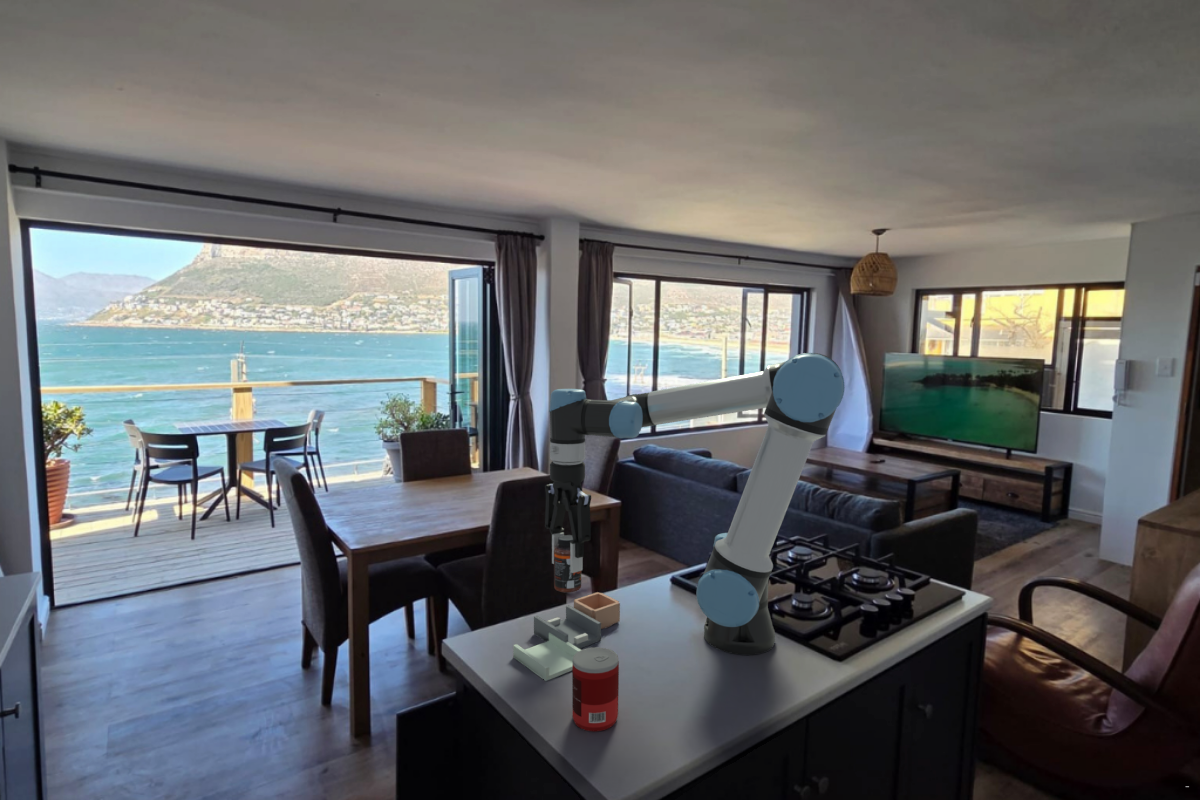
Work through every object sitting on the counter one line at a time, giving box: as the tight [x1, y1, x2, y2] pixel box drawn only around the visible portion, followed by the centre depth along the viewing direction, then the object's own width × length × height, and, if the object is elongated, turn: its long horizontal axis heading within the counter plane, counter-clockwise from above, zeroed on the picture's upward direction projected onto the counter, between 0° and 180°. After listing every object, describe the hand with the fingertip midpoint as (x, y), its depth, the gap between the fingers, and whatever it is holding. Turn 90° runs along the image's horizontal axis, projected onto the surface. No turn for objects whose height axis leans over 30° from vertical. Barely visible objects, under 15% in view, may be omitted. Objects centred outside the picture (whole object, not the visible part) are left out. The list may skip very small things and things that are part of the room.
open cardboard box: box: [573, 591, 621, 630], centre depth 146 cm, size 8×8×5 cm
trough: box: [512, 633, 582, 682], centre depth 127 cm, size 12×10×3 cm
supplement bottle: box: [553, 534, 582, 594], centre depth 136 cm, size 6×6×11 cm
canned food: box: [571, 647, 620, 732], centre depth 108 cm, size 8×8×11 cm
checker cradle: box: [533, 604, 602, 650], centre depth 138 cm, size 12×10×4 cm
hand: (567, 566), depth 136 cm, fingers closed on supplement bottle, 6 cm apart
